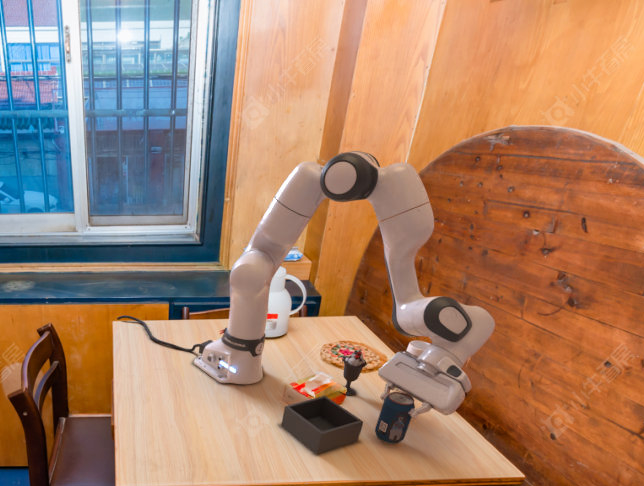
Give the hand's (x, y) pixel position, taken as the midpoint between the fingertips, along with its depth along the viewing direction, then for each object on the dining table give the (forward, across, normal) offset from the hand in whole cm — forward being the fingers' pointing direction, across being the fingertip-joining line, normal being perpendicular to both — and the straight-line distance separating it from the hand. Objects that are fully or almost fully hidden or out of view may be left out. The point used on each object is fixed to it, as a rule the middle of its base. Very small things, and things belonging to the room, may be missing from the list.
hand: (396, 408), depth 125 cm
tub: (+17, -10, -2) cm, 19 cm away
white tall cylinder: (-12, -16, +27) cm, 34 cm away
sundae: (0, -23, +14) cm, 27 cm away
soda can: (+6, 0, +7) cm, 9 cm away
